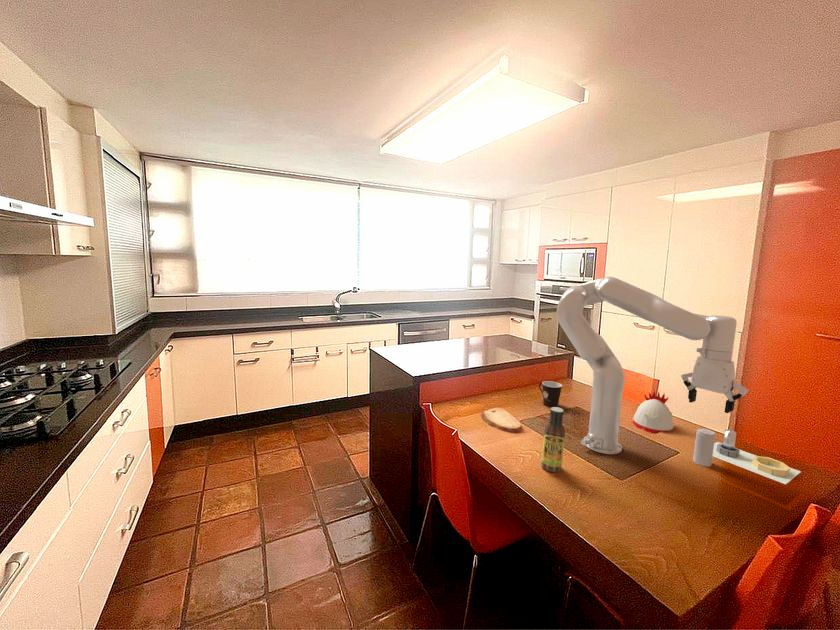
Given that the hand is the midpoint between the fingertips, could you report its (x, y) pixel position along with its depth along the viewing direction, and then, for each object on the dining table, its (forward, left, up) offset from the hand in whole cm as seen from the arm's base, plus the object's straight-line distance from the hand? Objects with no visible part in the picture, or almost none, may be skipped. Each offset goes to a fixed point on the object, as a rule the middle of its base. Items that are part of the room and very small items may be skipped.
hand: (709, 406), depth 116 cm
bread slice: (-35, +57, -21) cm, 70 cm away
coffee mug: (-1, +61, -20) cm, 64 cm away
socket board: (+15, -7, -20) cm, 26 cm away
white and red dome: (+17, +24, -21) cm, 36 cm away
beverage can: (0, 0, -20) cm, 21 cm away
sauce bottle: (-45, +23, -20) cm, 55 cm away
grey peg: (+15, -2, -19) cm, 24 cm away
